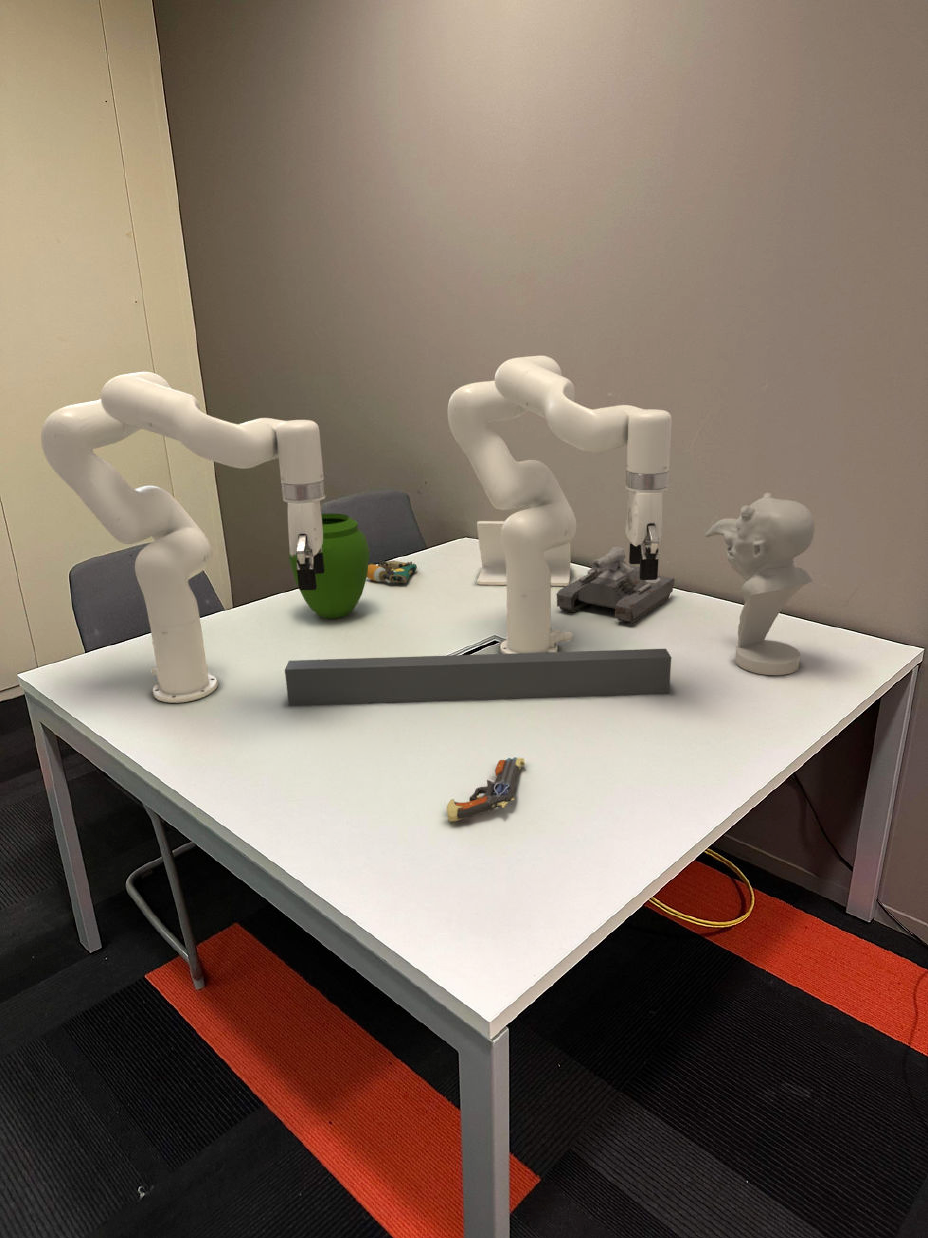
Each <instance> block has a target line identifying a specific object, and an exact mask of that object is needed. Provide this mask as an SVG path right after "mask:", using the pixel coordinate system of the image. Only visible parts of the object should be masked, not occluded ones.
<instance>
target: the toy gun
mask: <svg viewBox="0 0 928 1238" xmlns="http://www.w3.org/2000/svg"><path fill="white" fill-rule="evenodd" d="M525 765H526V764H525V758H524V757H516V756H515V757H513V758H511V757H507V759H500V760H499V761H498V762H497V765H496V766H495V769H494V773H495V776H496V779H495V780H494V781H492V780H489V779H487V780H486V783H487V786H479V787H476V789H474V792H473V793H472V795H471V796H469V801H466V802H465V801H464V802H458V801H455V799H454V798H452V799H450V800H449V802H448V803H447V806H446V814H447V820H448V821H449V822H457V821H461V820H463V819H468V818H471V817H473V816H477V815H479V814H482V813H487V812H489V811H493V810H494V809H497V808H499V807H501V809H505V808H506V806H507V805H508V804H509V803H510V802H511V801H514V800H515V797H516V793H517V779H518V776H519V773H520V771H521V768H522V767H523V766H525ZM480 794H483V796H480Z"/></svg>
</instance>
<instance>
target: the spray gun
mask: <svg viewBox="0 0 928 1238" xmlns="http://www.w3.org/2000/svg"><path fill="white" fill-rule="evenodd" d="M417 569H418V566H417V564H416V563H413V561H410V562H409V561H407V562H403V561H398V560H386V561H385V560H382V561H381V560H379V561H378V562H377V564H373V563H370V564H368V573H367V578H366V579H369V580H371V581H375V582H378V583H379V582H381V583H382V582H384V581H389V582H390V583H402V584H405V583H407V582H408V580H409V579H410V577H411V575H412V573H415V572H416V571H417Z"/></svg>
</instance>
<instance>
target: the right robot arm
mask: <svg viewBox="0 0 928 1238" xmlns="http://www.w3.org/2000/svg"><path fill="white" fill-rule="evenodd" d="M496 369H497V370H496V371H495V374H494V380H487V381H486V380H485V381H479V382H471V383H467V384H465V385H462V386H460V387H458V388H457V389H456V390H454V392H453V393H452V394H451V395H450V397H449V400H448V404H447V421H448V426H449V429H450V433H451V434H452V436H453V438H454V440H455V441H456V443H457V444H458V446H459V447H460V449H461V450H462V451H463V453H464V454H465V456H466V457H467V459H468V461H469V463H470V465H471V467H472V469H473V471H474V473H475V475H476V477H477V479H478V481H479V483H480V485H481V487H482V490H483V491H484V493H485V495H486V497H487V499H488V500H489V502H490V503H491V505H492V506H493V507H494V508H495V509H497V510H499V511H510V510H516V509H519V508H522V507H528V506H529V508H526V509H523V510H519V511H517V512H514V513H512V514H510V515H509V516H508V517H507V518H506V519H505V520H504V521H505V522H504V524H503V526H502V529H501V539H502V544H503V549H504V554H505V560H506V583H507V585H506V639H505V640H503V641H502V642H501V643H500V646H499V647H500V654H513V653H544V652H558V643H559V642H568V641H569V642H570V641H572V640H573V633H572V632H571V631H563V629H556V630H553V629H552V628H551V625H552V621H551V618H552V616H551V613H552V609H551V608H552V586H551V573H550V568H549V566H548V564H547V562H546V560H545V558H544V552H545V551H548V550H550V549H553V548H557V547H560V546H563V545H565V544H567V543H569V542H570V543H571V542H572V541H573V539H575V536H576V534H577V528H578V525H577V518H576V516H575V513H574V511H573V508H572V507H571V504H570V503H569V501H568V499H567V497H566V495H565V493H564V491H563V489H562V487H561V486H560V483H559V481H558V480H557V478H556V476H555V474H554V473H553V471H552V469H550V467H549V466H548V465H546V464H545V463H543V462H542V461H540V460H537V459H526V460H521V461H517V460H516V459H515V458H514V457H513V455H512V454H511V452H510V450H509V448H508V446H507V444H506V442H505V441H504V439H502V437H501V436H500V435H499V434H497V433H496V432H495V431H494V430H492V429H491V428H490V427H489V426H488V423H497V422H502V421H509V420H513V419H516V418H519V417H521V416H523V415H524V414H526V413H528V412H532V413H534V414H535V415H537V416H539V417H541V418H543V419H545V421H546V424H547V426H548V427H549V429H550V431H551V433H553V435H554V436H555V437H557V438H558V439H559V440H561V441H563V442H565V443H566V444H568V445H570V446H572V447H574V448H576V449H578V450H581V451H584V452H588V453H600V452H605V451H609V450H614V449H621V448H625V447H626V470H625V471H626V472H625V490H627V491H628V496H627V504H626V517H625V528H624V529H625V530H624V532H625V536H626V538H627V539H628V541H629V542H630V543H629V555H628V563H629V565H639V567H640V574H639V578H640V580H656V579H657V578H658V576H659V560H660V558H659V557H660V556H659V555H660V554H659V545H660V544H661V543H662V534H663V512H664V511H663V505H664V502H663V501H664V500H663V499H664V496H663V494H664V492H666V491H668V490H669V481H670V480H669V479H670V461H671V446H672V445H671V443H672V427H673V418H672V415H671V413H670V412H668V411H667V410H664V409H653V408H652V409H650V408H649V409H644V408H640V407H638V406H634V405H629V404H620V405H619V404H618V405H614V406H606V407H599V408H594V409H593V408H592V409H591V408H588V407H586V406H584V405H581V404H579V403H577V402H575V397H576V389H575V386H574V384H573V382H572V380H570V379H569V378H567V377H565V376H563V373H562V370H561V367H560V365H559V364H558V363H557V362H556V360H554V359H553V358H552V357H550V356H548V355H532V356H531V355H530V356H520V357H515V358H514V357H512V358H509V359H507V360H505V361H504V362H503V363H501V364H500V365H499V366H498V368H496Z"/></svg>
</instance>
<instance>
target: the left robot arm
mask: <svg viewBox="0 0 928 1238" xmlns="http://www.w3.org/2000/svg"><path fill="white" fill-rule="evenodd" d="M140 430H145V431H148V432H150V433H153V434H157V435H160V436H163V437H166V438H169V439H172V440H175V441H178V442H180V444H181V445H182V446H183V447H185V448H186V449H188V450H189V451H190V452H192V453H193V454H195V455H197V456H199V457H201V458H203V459H206V460H209V461H212V462H215V463H218V464H221V465H224V466H227V467H230V468H236V469H241V470H242V469H243V470H246V469H252V468H254V467H258V466H259V465H261V464H264V463H267V462H270V461H272V460H276V459H278V463H279V472H280V473H279V474H280V483H281V492H282V500H283V502H285V503H287V530H288V531H287V533H288V547H289V549H288V550H289V551H290V555H291V556H292V557H294V556H295V555H296V554H297V576H298V585H297V587H298V586H299V587H298V590H299V591H300V590H316V588H317V584H316V574H323V573H324V560H323V553H319V552H322V544H323V527H322V516H321V514H322V507H321V501H322V500H325V499H326V489H325V479H324V478H325V477H324V467H323V455H322V447H321V446H322V445H321V443H322V442H321V434H320V427H319V424H317V423H316V422H315V421H314V420H311V419H291V420H282V419H277V418H270V417H259V418H256V419H252V420H248V421H245V422H241V423H233V422H230V421H226V420H224V419H221V418H217V417H214V416H211V415H209V414H206V412H205V413H204V412H203V411H201V406H200V403H199V401H198V399H197V398H196V397H195V396H194V395H193V394H190V393H187V392H185V391H181V390H178V389H174V388H172V387H171V386H170V384H169V383H168V381H167V380H166V379H165V378H163V377H162V376H161V375H159V374H157V373H154V372H150V371H140V372H139V371H138V372H132V373H126V374H120V375H117V376H114V377H112V378H110V379H109V380H108V381H107V382H106V383H105V384H104V385H103V387H102V389H101V391H100V398H99V399H97V400H92V401H86V402H80V403H74V404H69V405H66V406H63V407H60V408H58V409H56V410H54V411H53V412H52V413H50V414H49V415H48V416H47V417H46V419H45V420H44V422H43V425H42V428H41V431H40V432H41V433H40V440H41V447H42V452H43V455H44V457H45V459H46V461H47V462H48V464H49V466H50V467H51V468H52V470H54V472H55V473H56V474H57V475H58V477H60V478H61V479H62V481H63V482H65V484H67V485H68V486H69V488H71V490H72V491H73V492H75V494H76V495H77V496H78V497H79V498H80V499H81V501H82V502H83V504H84V505H85V506H86V507H87V508H88V510H89V511H90V512H91V513H92V514H93V515H94V517H95V518H96V519H97V520H98V521H99V522H100V524H101V525H102V526H103V527H104V528H105V530H107V532H108V533H109V534H110V535H111V536H112V538H114V539H115V540H116V541H117V542H119V543H121V544H124V545H133V544H137V543H140V542H142V541H144V540H146V539H149V538H151V537H152V538H153V540H154V541H152V542H149V544H147V545H145V546H144V547H143V548H142V549H141V550H140V551H139V553H138V555H136V559H135V563H134V572H135V576H136V580H137V582H138V584H139V587H140V589H141V592H142V595H143V599H144V603H145V607H146V613H147V619H148V623H149V629H150V634H151V641H152V646H153V652H154V657H155V658H154V659H155V665H156V667H153V668H151V670H150V671H151V674H152V675H155V676H156V677H157V678H156V679H157V682H156V683H155V685H153V686H152V687H153V688H152V695H153V697H154V699H156V700H158V701H161V702H164V703H171V704H172V703H174V704H176V703H178V704H179V703H187V702H188V703H189V702H192V701H196V700H199V699H202V698H205V697H207V696H209V695H211V694H212V693H214V692H215V690H216V689H217V688H218V679H217V677H216V676H215V675H214V674H210V673H209V671H208V665H207V657H206V651H205V644H204V637H203V631H202V623H201V617H200V610H199V605H198V602H197V598H196V596H195V594H194V592H193V591H192V589H191V586H190V583H189V581H190V579H192V578H193V577H195V576H197V575H199V574H200V573H201V572H203V571H204V570H206V569H207V568H208V566H209V565H210V563H211V562H212V558H213V548H212V546H211V543H210V541H209V539H208V537H207V535H205V532H203V530H201V528H200V527H199V525H197V523H196V522H195V521H194V519H193V518H192V516H190V515H189V514H188V512H187V510H185V509H184V508H183V506H182V505H181V504H180V502H179V501H178V500H177V499H176V498H175V497H174V496H173V495H172V494H171V493H170V492H168V491H167V490H165V489H164V488H162V487H159V486H156V485H143V486H139V487H136V488H133V487H132V486H131V485H130V484H129V483H128V482H127V481H126V480H125V478H123V476H122V475H121V474H120V472H119V471H118V470H117V469H116V468H115V467H114V466H113V465H112V464H110V463H109V462H108V461H107V460H105V459H103V458H101V457H99V456H98V455H96V453H95V452H94V450H95V449H99V448H103V447H107V446H110V445H114V444H116V443H119V442H121V441H123V440H125V439H127V438H128V437H130V436H132V435H134V434H135V433H137V432H139V431H140ZM305 551H307V552H305Z"/></svg>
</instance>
